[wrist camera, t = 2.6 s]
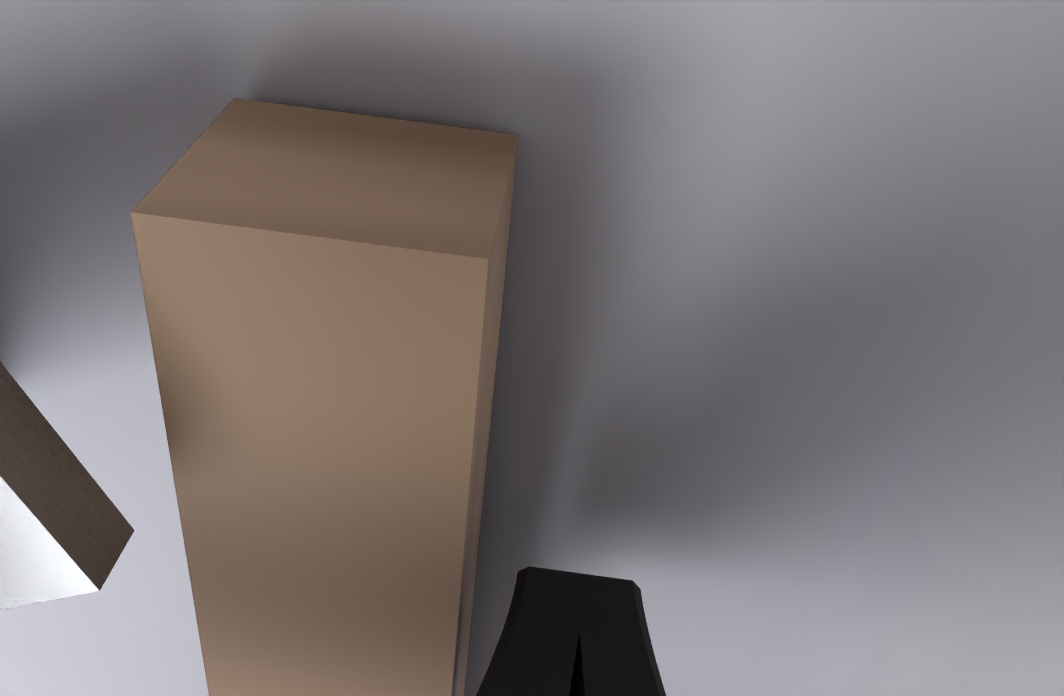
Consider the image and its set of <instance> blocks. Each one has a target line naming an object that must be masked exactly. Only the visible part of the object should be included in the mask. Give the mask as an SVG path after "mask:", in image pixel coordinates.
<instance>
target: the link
mask: <svg viewBox="0 0 1064 696" xmlns="http://www.w3.org/2000/svg"><path fill="white" fill-rule="evenodd" d="M518 138H519V135H516V134H508V133H501V132H493V131H485V130H477V129H470V128H462V127H454V126H446V125H439V124H431V123H423V122H416V121H408V120H400V119H392V118H385V117H377V116H369V115H361V114H354V113H346V112H338V111H330V110H323V109H315V108H307V107H299V106H292V105H284V104H276V103H268V102H261V101H253V100H245V99H238V98H234V99H233V100H232V102H231V103H230V104H229V105H228V106H227V107H226V108H225V109H224V110H223V111H222V113H221V114H220V115H219V116H218V117H217V118H216V119H215V120H214V121H213V122H212V123H211V125H210V126H209V127H208V128H207V129H206V130H205V131H204V132H203V133H202V134H201V136H200V137H199V138H198V139H197V140H196V141H195V142H194V143H193V144H192V145H191V147H190V148H189V149H188V150H187V151H186V152H185V153H184V154H183V155H182V156H181V158H180V159H179V160H178V161H177V162H176V163H175V164H174V165H173V166H172V167H171V169H170V170H169V171H168V172H167V173H166V174H165V175H164V176H163V177H162V178H161V180H160V181H159V182H158V183H157V184H156V185H155V186H154V187H153V188H152V189H151V190H150V192H149V193H148V194H147V195H146V196H145V197H144V198H143V199H142V200H141V201H140V203H139V204H138V205H137V206H136V207H135V208H134V209H133V210H132V211H131V218H132V224H133V230H134V236H135V243H136V249H137V255H138V261H139V267H140V273H141V280H142V286H143V292H144V298H145V304H146V310H147V316H148V323H149V329H150V335H151V341H152V347H153V353H154V360H155V366H156V372H157V378H158V384H159V390H160V396H161V403H162V409H163V415H164V421H165V427H166V433H167V440H168V446H169V452H170V458H171V464H172V470H173V476H174V483H175V489H176V495H177V501H178V507H179V513H180V519H181V526H182V532H183V538H184V544H185V550H186V556H187V563H188V569H189V575H190V581H191V587H192V593H193V599H194V606H195V612H196V618H197V624H198V630H199V636H200V643H201V649H202V655H203V661H204V667H205V673H206V679H207V686H208V692H209V696H464V691H465V681H466V671H467V661H468V650H469V640H470V630H471V620H472V609H473V599H474V589H475V579H476V568H477V558H478V548H479V538H480V527H481V517H482V507H483V497H484V486H485V476H486V466H487V456H488V445H489V435H490V425H491V415H492V404H493V394H494V384H495V374H496V363H497V353H498V343H499V333H500V322H501V312H502V302H503V292H504V281H505V271H506V261H507V251H508V240H509V230H510V220H511V210H512V199H513V189H514V179H515V169H516V158H517V148H518Z"/></svg>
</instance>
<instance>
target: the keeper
mask: <svg viewBox="0 0 1064 696" xmlns="http://www.w3.org/2000/svg"><path fill="white" fill-rule="evenodd" d="M133 532H134V529H133V528H132V527H131V525H130V524H129V523H128V522H127V520H126V519H125V518H124V517H123V515H122V514H121V513H120V512H119V510H118V509H117V508H116V507H115V505H114V504H113V503H112V502H111V500H110V499H109V498H108V497H107V495H106V494H105V493H104V492H103V490H102V489H101V488H100V487H99V485H98V484H97V483H96V482H95V480H94V479H93V478H92V476H91V475H90V474H89V473H88V471H87V470H86V469H85V468H84V466H83V465H82V464H81V463H80V461H79V460H78V459H77V458H76V456H75V455H74V454H73V453H72V451H71V450H70V449H69V448H68V446H67V445H66V444H65V443H64V441H63V440H62V439H61V438H60V436H59V435H58V434H57V432H56V431H55V430H54V429H53V427H52V426H51V425H50V424H49V422H48V421H47V420H46V419H45V417H44V416H43V415H42V414H41V412H40V411H39V410H38V409H37V407H36V406H35V405H34V404H33V402H32V401H31V400H30V399H29V397H28V396H27V395H26V394H25V392H24V391H23V390H22V389H21V387H20V386H19V385H18V383H17V382H16V381H15V380H14V378H13V377H12V376H11V375H10V373H9V372H8V371H7V370H6V368H5V367H4V366H3V365H2V363H1V362H0V610H2V609H7V608H13V607H18V606H23V605H28V604H34V603H39V602H44V601H49V600H55V599H60V598H65V597H71V596H76V595H81V594H86V593H92V592H97V591H100V589H101V588H102V586H103V584H104V582H105V581H106V579H107V577H108V575H109V574H110V572H111V570H112V568H113V567H114V565H115V563H116V561H117V560H118V558H119V556H120V554H121V553H122V551H123V549H124V547H125V546H126V544H127V542H128V540H129V539H130V537H131V535H132V533H133Z"/></svg>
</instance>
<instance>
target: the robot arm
mask: <svg viewBox="0 0 1064 696" xmlns="http://www.w3.org/2000/svg"><path fill="white" fill-rule="evenodd" d="M476 696H666V694H665V691H664V687H663V684H662V680H661V677H660V673H659V670H658V666H657V663H656V659H655V656H654V652H653V648H652V644H651V640H650V636H649V632H648V628H647V623H646V618H645V613H644V608H643V603H642V597H641V590H640V588H639V587H638V586H637V585H636V584H635V583H634V581H632V580H624V579H617V578H610V577H602V576H595V575H588V574H580V573H573V572H566V571H558V570H551V569H544V568H536V567H527V568H525V569H523V570H521V571H519V572H518V574H517V580H516V585H515V591H514V595H513V599H512V602H511V606H510V609H509V613H508V616H507V619H506V622H505V625H504V628H503V631H502V634H501V637H500V639H499V642H498V645H497V647H496V650H495V652H494V655H493V657H492V660H491V662H490V665H489V668H488V670H487V672H486V675H485V677H484V679H483V681H482V683H481V686H480V688H479V690H478V692H477V694H476Z"/></svg>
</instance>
